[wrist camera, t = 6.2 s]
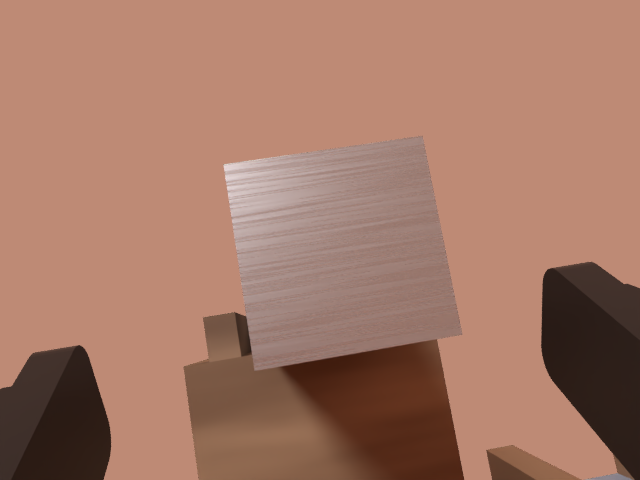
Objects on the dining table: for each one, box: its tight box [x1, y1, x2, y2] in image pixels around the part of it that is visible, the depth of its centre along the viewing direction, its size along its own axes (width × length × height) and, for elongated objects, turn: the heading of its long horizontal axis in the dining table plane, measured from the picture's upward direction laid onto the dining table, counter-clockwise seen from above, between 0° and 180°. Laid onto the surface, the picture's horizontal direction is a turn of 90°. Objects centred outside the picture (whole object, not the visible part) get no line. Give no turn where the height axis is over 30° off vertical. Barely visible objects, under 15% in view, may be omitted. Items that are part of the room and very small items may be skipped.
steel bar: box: [224, 136, 462, 371], centre depth 21 cm, size 24×3×3 cm, turn 6°
